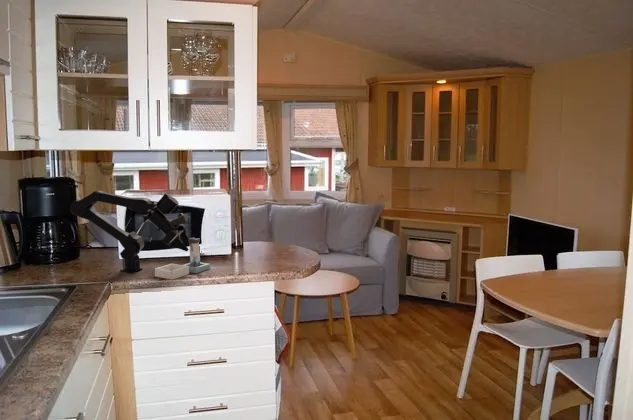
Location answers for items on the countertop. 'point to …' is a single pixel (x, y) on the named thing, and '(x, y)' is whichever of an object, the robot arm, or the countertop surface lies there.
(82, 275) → the countertop surface
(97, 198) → the robot arm
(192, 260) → the salt shaker
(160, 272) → the tray
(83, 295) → the countertop surface
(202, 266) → the collar
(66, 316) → the countertop surface
